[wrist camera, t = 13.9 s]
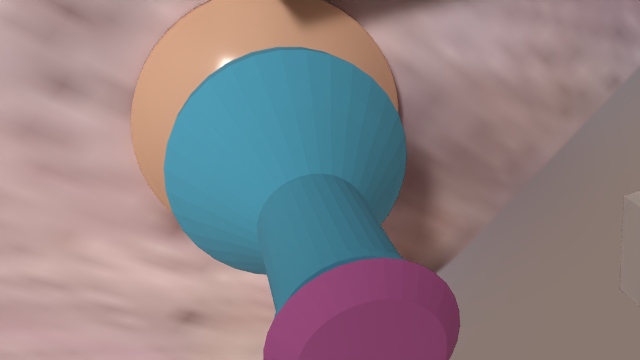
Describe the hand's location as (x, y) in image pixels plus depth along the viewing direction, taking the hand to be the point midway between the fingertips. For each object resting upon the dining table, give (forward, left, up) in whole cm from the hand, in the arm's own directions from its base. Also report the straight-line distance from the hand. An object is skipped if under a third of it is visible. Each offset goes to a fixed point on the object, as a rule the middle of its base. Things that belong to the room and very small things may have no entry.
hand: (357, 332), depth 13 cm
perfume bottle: (0, 0, -15) cm, 15 cm away
